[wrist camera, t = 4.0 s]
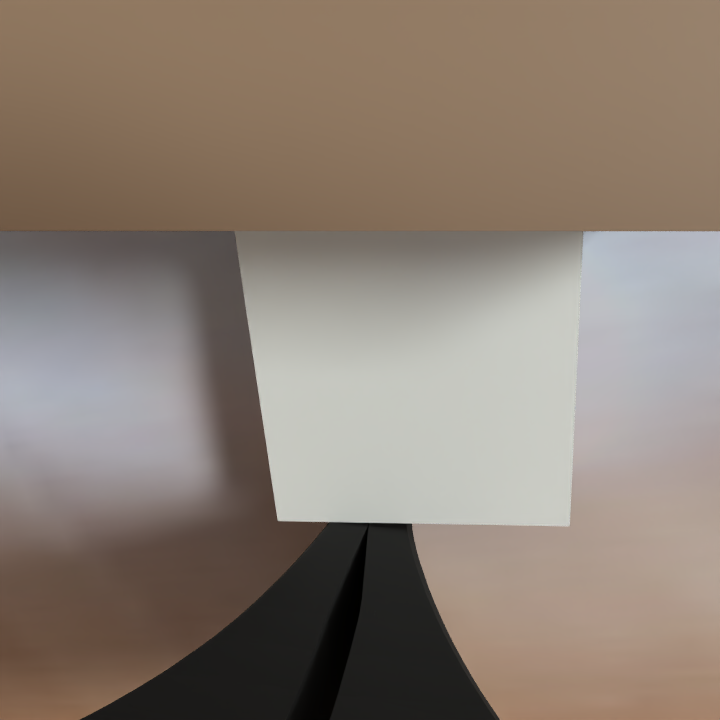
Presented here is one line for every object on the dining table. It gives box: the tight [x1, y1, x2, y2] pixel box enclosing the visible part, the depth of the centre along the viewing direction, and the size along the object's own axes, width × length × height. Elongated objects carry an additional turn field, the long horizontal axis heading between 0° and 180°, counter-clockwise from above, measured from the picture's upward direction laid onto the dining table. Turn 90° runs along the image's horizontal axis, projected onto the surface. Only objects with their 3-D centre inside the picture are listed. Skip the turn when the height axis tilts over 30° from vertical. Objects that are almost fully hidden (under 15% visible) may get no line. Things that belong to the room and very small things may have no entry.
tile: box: [234, 231, 583, 526], centre depth 9 cm, size 9×5×2 cm, turn 5°
